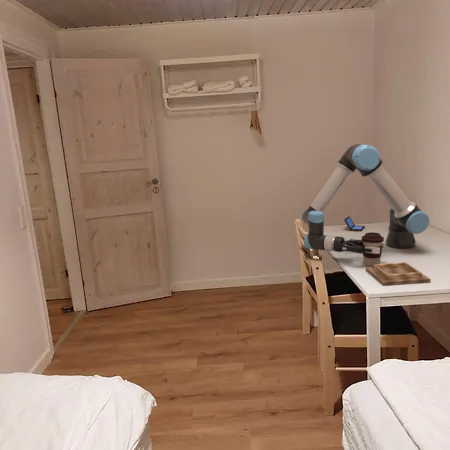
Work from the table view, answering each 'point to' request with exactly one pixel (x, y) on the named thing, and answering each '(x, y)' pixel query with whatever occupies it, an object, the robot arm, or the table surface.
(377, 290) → the table surface
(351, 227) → the handheld game console
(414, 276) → the cup rack
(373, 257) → the coffee cup
